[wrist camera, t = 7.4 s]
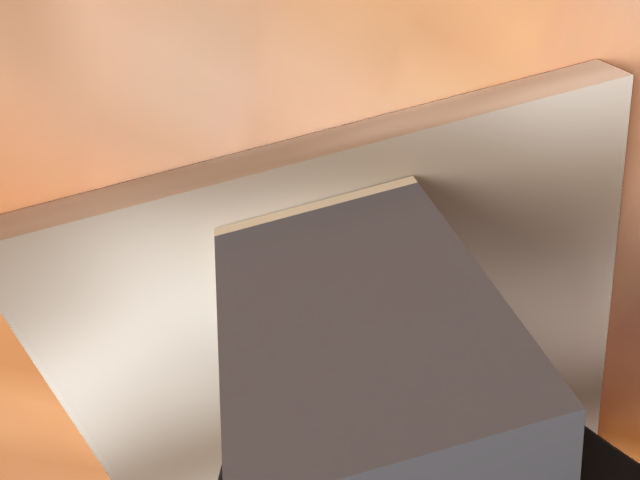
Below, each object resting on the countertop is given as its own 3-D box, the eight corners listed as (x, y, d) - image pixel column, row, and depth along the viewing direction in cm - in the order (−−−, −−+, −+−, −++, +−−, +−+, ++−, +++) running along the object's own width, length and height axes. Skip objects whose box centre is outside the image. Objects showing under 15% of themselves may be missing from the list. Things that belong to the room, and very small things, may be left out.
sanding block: (448, 458, 16) (562, 719, 11) (310, 498, 16) (360, 780, 11) (413, 176, 11) (586, 408, 6) (214, 228, 11) (223, 512, 6)
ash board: (568, 499, 21) (588, 532, 20) (216, 602, 20) (217, 641, 19) (597, 59, 12) (635, 75, 11) (-19, 219, 11) (-42, 252, 10)
